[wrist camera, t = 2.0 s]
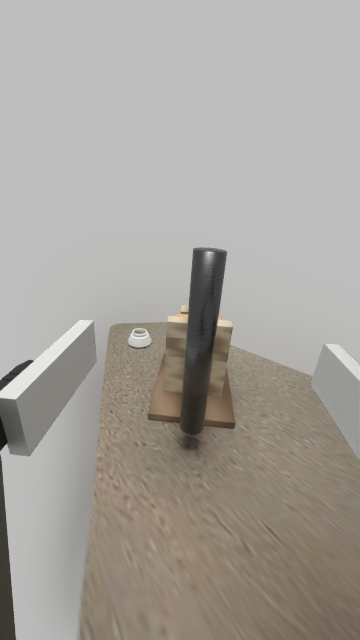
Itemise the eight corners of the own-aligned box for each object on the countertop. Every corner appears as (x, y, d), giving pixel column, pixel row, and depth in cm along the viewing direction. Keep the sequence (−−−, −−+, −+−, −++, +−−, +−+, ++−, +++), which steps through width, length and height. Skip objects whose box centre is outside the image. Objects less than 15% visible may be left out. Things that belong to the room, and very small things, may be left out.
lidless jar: (131, 351, 51) (154, 346, 54) (131, 338, 50) (154, 334, 52) (125, 340, 56) (146, 336, 58) (125, 328, 54) (146, 324, 56)
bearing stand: (224, 363, 49) (234, 300, 44) (234, 428, 34) (250, 346, 29) (163, 357, 50) (166, 295, 44) (148, 419, 35) (148, 337, 30)
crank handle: (203, 354, 46) (216, 234, 37) (203, 435, 29) (228, 254, 21) (186, 353, 46) (196, 233, 37) (178, 433, 29) (192, 251, 21)
